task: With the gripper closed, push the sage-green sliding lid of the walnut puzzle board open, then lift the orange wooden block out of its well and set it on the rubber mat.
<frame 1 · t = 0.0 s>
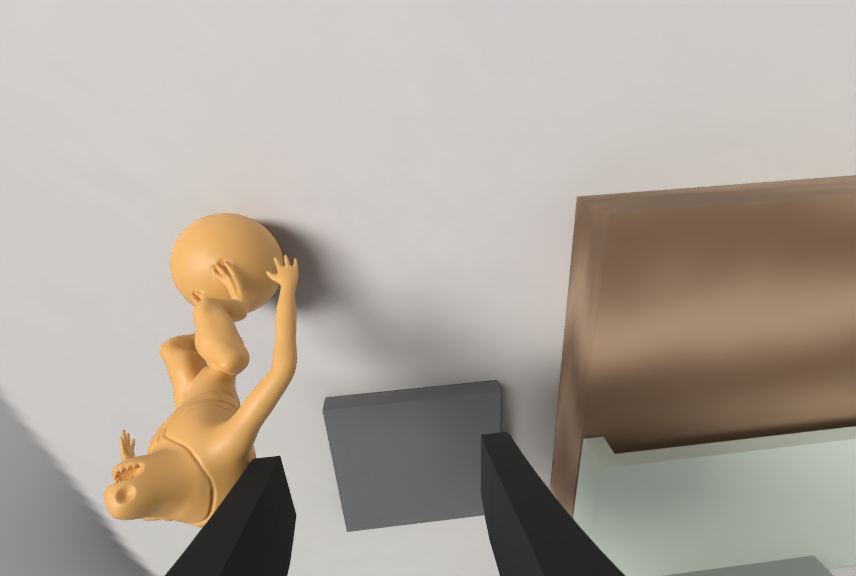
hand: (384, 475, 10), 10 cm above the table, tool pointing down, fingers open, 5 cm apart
sliding lid: (744, 524, 21), point 5 cm above the table, slide at 0.0 cm
puzzle board: (686, 422, 25), on the table
figurine: (267, 262, 19), on the table, touching gripper
mat: (417, 452, 24), on the table
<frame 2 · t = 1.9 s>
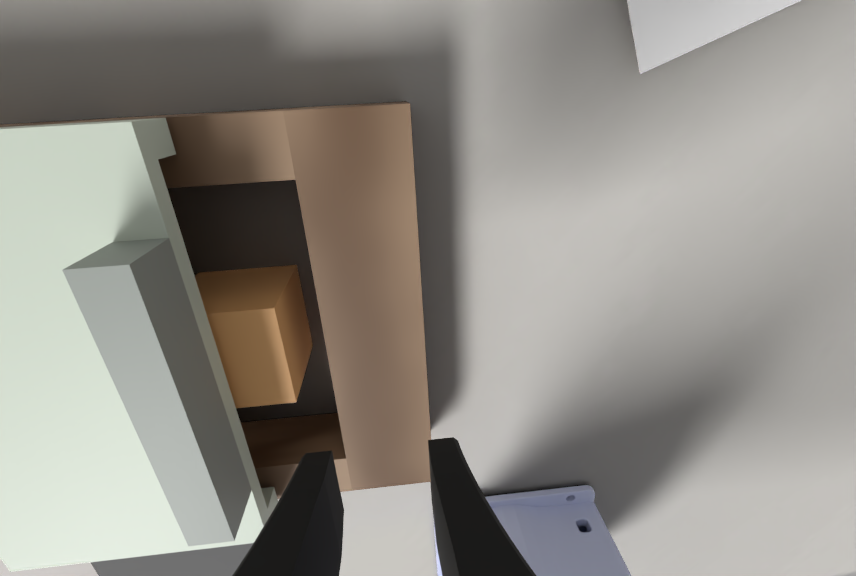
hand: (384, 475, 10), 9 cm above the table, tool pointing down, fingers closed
sliding lid: (54, 400, 13), point 5 cm above the table, slide at 0.0 cm
puzzle board: (90, 325, 18), on the table
block: (259, 310, 18), resting in puzzle board
mat: (197, 561, 25), on the table
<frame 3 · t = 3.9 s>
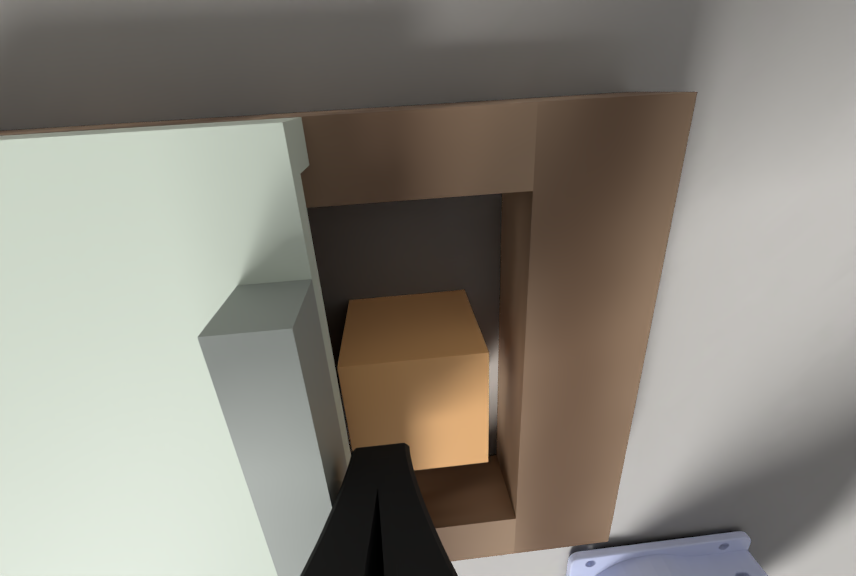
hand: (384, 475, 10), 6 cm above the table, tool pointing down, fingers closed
sliding lid: (141, 483, 10), point 5 cm above the table, slide at 2.0 cm, touching gripper
puzzle board: (215, 363, 15), on the table
block: (411, 342, 15), resting in puzzle board
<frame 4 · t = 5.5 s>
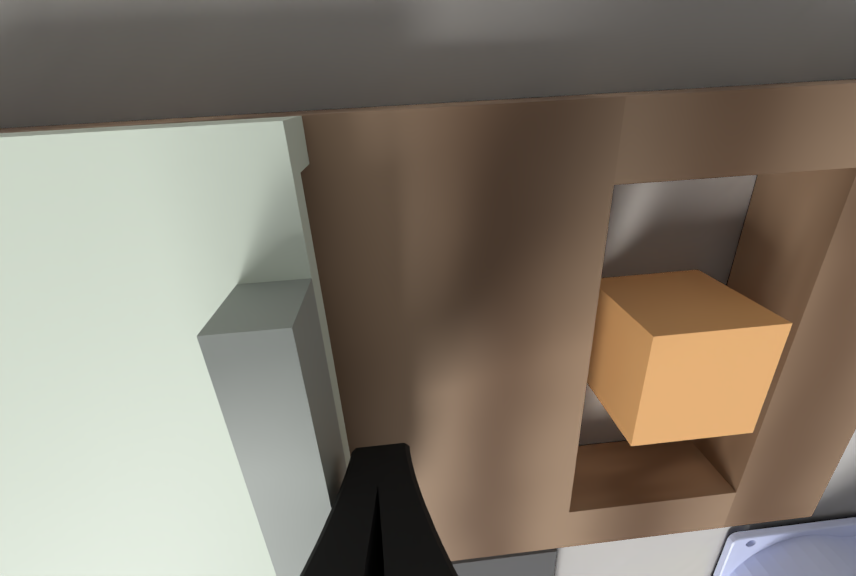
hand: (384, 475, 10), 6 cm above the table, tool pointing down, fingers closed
sliding lid: (139, 482, 10), point 5 cm above the table, slide at 10.5 cm, touching gripper
puzzle board: (452, 340, 15), on the table
block: (634, 321, 16), resting in puzzle board
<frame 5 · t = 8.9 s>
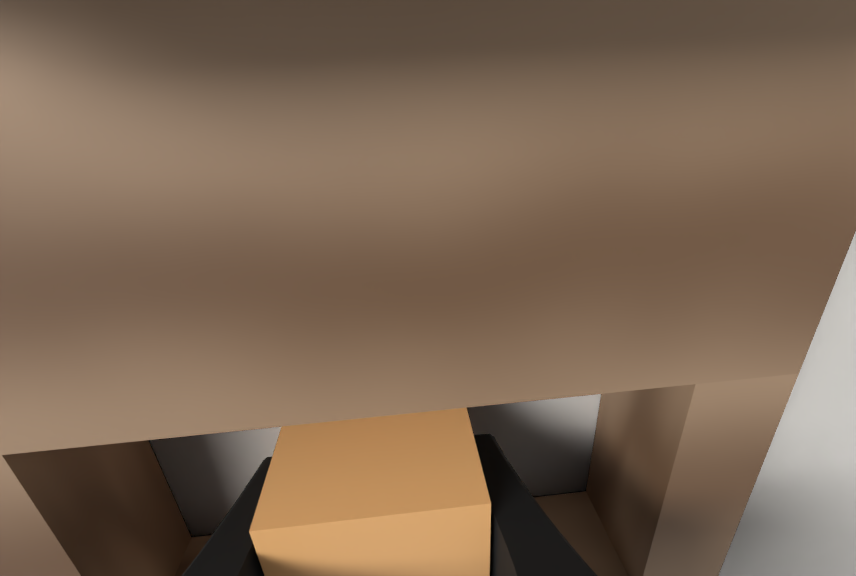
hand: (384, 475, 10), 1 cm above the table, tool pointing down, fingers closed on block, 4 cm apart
puzzle board: (351, 168, 8), on the table
block: (384, 432, 11), resting in puzzle board, touching gripper
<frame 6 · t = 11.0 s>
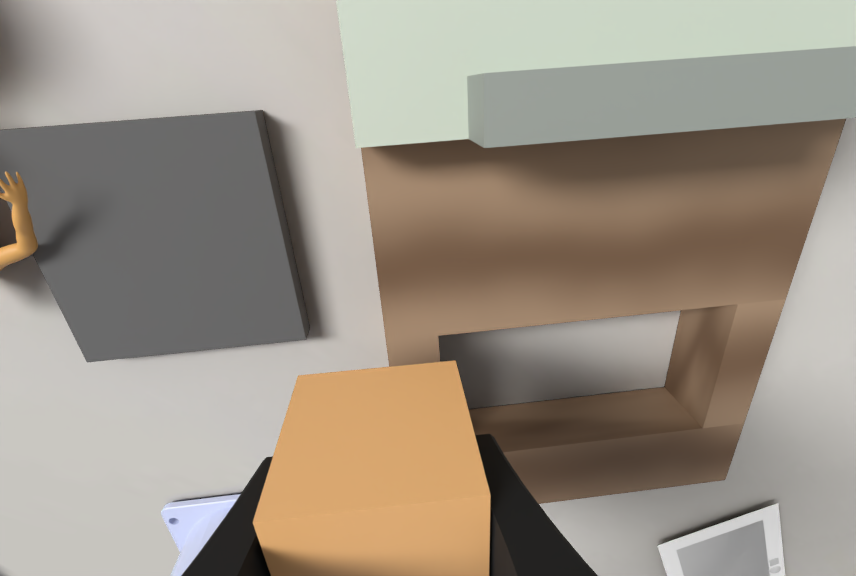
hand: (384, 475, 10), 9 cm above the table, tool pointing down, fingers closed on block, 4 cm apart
puzzle board: (568, 206, 17), on the table
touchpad: (716, 566, 31), on the table
block: (385, 427, 12), point 8 cm above the table, touching gripper
mat: (174, 241, 17), on the table
when the fingers open (3 cm above the table, at t = 13.1 s): block stays where it is, resting on mat.
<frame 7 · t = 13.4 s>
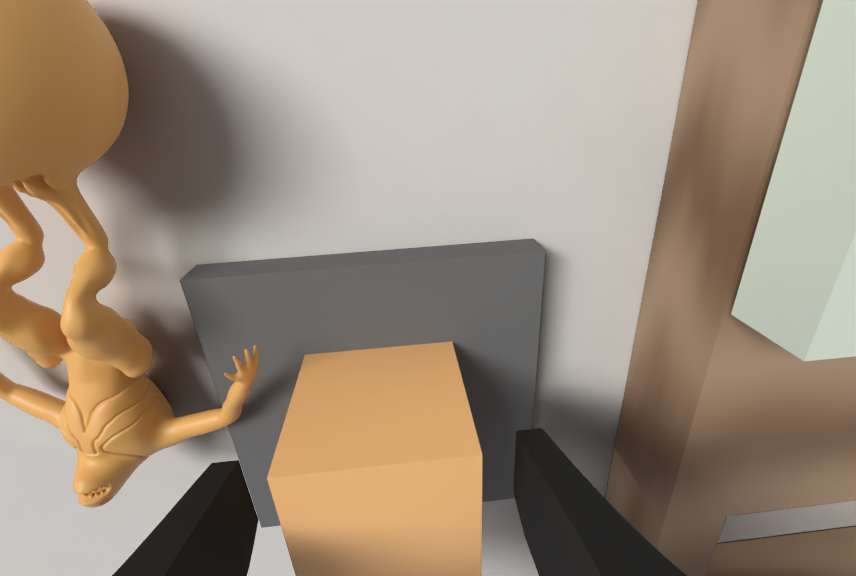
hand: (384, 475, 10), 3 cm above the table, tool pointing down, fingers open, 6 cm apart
block: (386, 405, 12), point 1 cm above the table, touching mat
mat: (384, 386, 13), on the table
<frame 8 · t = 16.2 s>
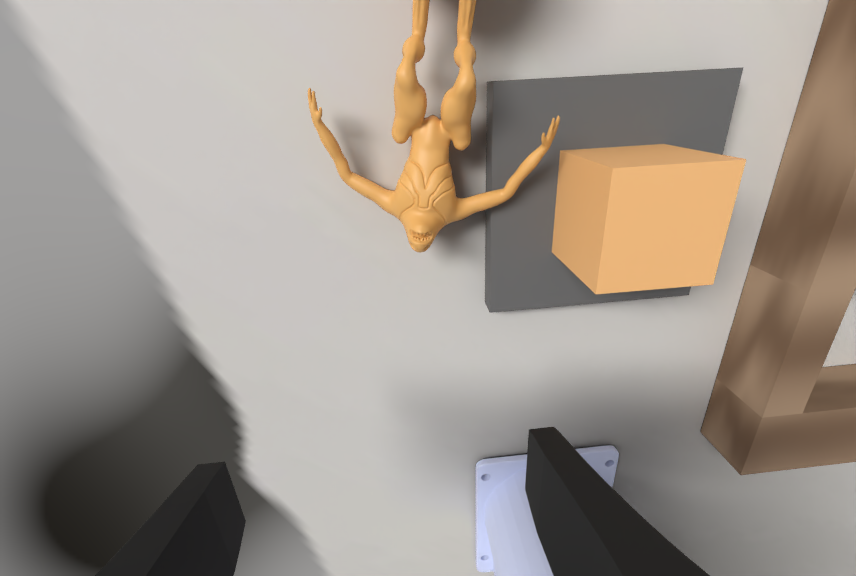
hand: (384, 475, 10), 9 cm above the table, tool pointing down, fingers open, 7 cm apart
block: (605, 200, 17), point 1 cm above the table, touching mat
mat: (592, 196, 17), on the table
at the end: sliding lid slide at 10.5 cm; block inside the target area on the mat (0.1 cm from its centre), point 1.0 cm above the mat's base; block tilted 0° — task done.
